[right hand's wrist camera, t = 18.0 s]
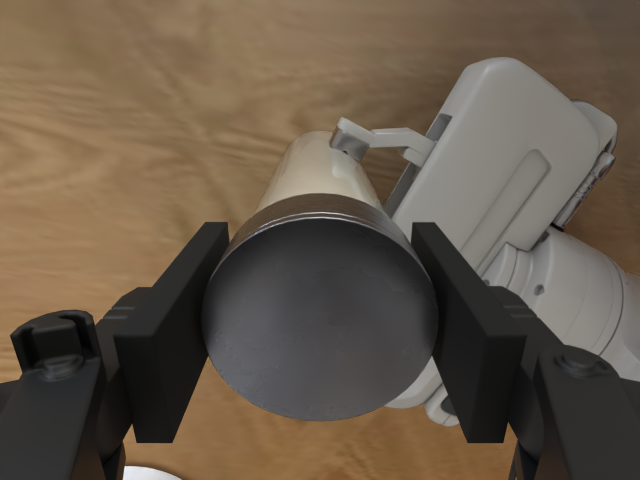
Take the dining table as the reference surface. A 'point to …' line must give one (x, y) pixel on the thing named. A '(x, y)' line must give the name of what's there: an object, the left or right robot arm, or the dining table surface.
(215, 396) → the dining table surface
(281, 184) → the bottle
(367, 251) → the lid
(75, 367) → the right robot arm
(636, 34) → the dining table surface
